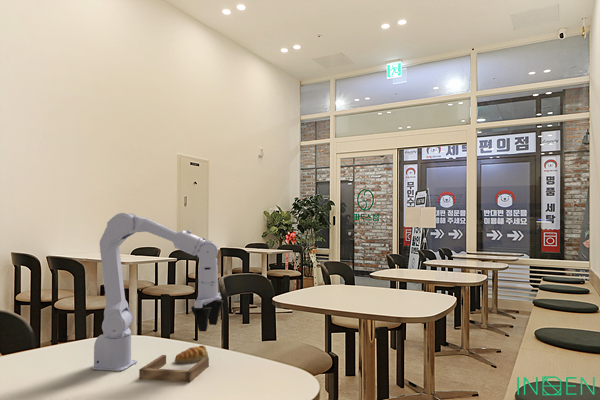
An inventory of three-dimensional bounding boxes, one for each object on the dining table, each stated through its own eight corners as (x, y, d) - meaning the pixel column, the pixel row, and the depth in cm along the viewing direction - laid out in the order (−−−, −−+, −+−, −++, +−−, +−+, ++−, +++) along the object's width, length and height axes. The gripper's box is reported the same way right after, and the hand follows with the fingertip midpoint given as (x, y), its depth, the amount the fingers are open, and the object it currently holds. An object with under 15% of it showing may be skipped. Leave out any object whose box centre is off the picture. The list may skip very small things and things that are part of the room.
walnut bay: (139, 379, 110) (139, 369, 111) (162, 363, 122) (162, 354, 123) (190, 382, 108) (190, 372, 108) (208, 366, 120) (208, 357, 120)
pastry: (180, 367, 120) (180, 353, 120) (171, 361, 125) (171, 348, 126) (210, 360, 126) (210, 347, 126) (200, 354, 131) (200, 342, 132)
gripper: (211, 285, 118) (210, 334, 117) (229, 278, 132) (229, 322, 131) (187, 285, 119) (187, 333, 118) (208, 278, 133) (208, 321, 133)
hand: (208, 327), depth 125 cm, fingers open, 7 cm apart
